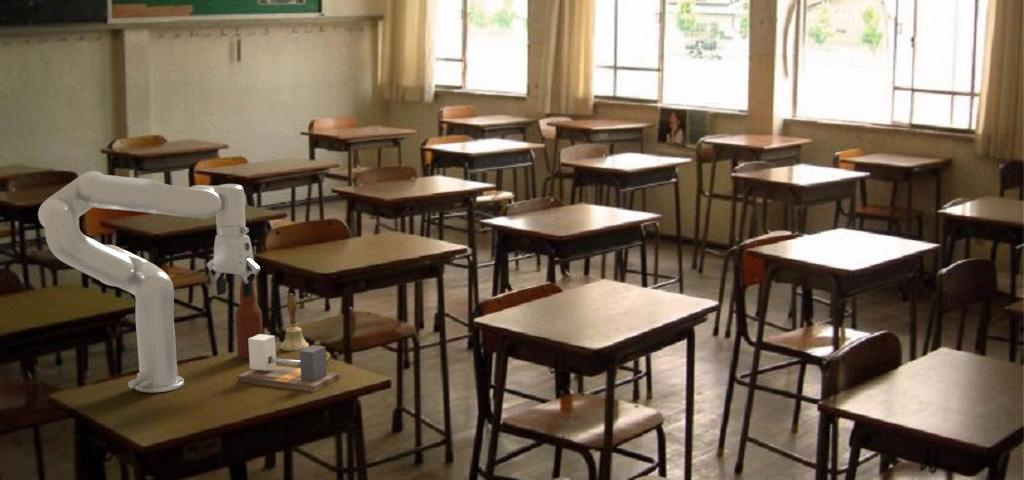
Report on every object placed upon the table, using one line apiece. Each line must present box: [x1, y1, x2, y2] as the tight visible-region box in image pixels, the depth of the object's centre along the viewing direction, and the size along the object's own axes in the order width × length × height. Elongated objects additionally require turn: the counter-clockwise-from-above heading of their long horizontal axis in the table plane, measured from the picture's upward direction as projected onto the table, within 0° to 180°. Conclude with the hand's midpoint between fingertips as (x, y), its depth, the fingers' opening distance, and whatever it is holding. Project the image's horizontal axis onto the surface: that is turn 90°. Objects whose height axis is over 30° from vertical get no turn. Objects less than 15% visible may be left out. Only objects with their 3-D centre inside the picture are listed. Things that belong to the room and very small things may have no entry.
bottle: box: [234, 271, 264, 360], centre depth 352 cm, size 7×7×25 cm
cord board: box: [237, 364, 340, 393], centre depth 332 cm, size 12×24×2 cm, turn 66°
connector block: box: [299, 344, 328, 382], centre depth 327 cm, size 6×4×8 cm, turn 156°
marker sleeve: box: [248, 333, 277, 370], centre depth 334 cm, size 5×5×8 cm
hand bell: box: [279, 292, 310, 352], centre depth 362 cm, size 8×8×16 cm
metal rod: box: [268, 357, 301, 367], centre depth 332 cm, size 1×16×1 cm, turn 66°
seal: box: [296, 340, 332, 364], centre depth 350 cm, size 9×5×15 cm
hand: (234, 295), depth 334 cm, fingers open, 7 cm apart
